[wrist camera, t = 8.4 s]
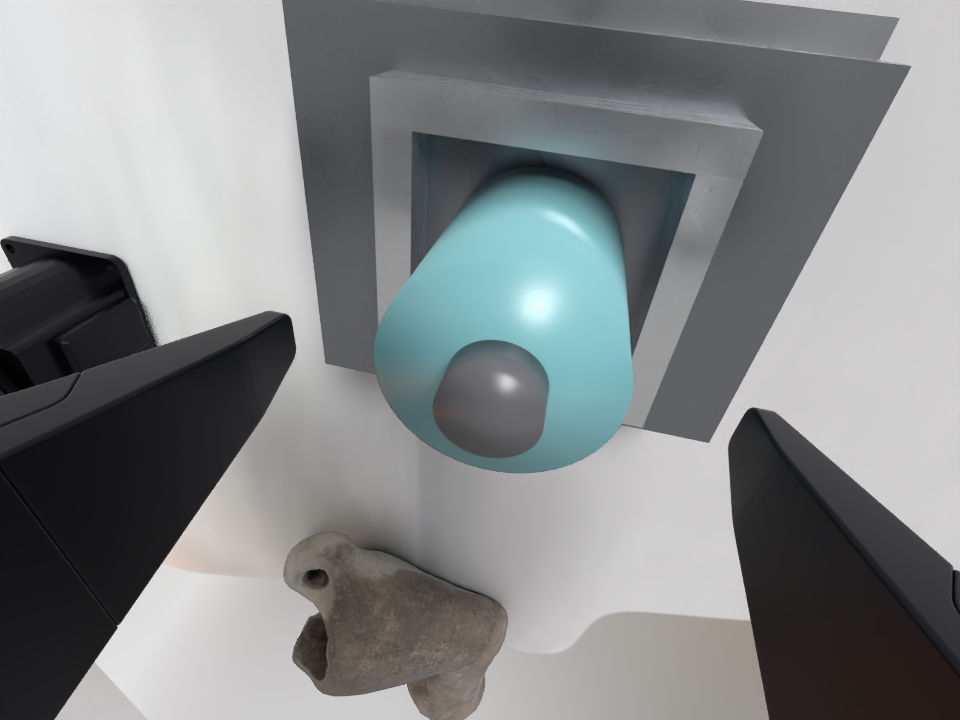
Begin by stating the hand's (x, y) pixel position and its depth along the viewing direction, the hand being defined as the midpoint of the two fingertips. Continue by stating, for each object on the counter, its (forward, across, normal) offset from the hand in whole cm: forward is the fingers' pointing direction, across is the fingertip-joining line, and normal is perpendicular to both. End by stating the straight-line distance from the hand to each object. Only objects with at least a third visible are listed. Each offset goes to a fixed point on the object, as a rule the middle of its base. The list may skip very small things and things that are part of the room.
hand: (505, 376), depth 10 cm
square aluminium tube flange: (+11, 0, 0) cm, 11 cm away
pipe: (+11, +5, +30) cm, 32 cm away
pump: (+6, 0, 0) cm, 6 cm away
